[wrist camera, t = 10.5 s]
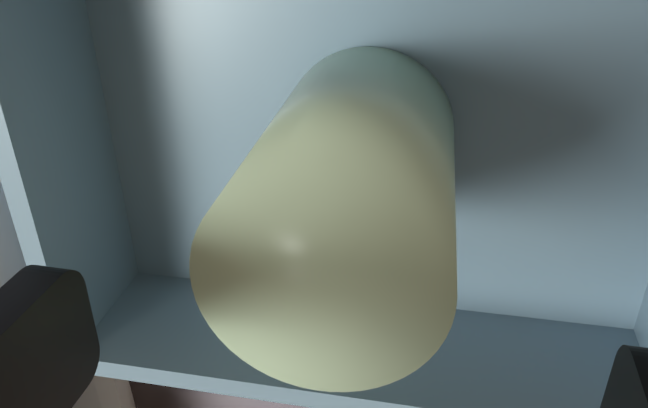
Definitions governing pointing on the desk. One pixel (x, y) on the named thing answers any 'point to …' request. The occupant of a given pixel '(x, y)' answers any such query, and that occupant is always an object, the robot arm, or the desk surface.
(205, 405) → the desk surface
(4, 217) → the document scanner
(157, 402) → the desk surface
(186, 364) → the bin
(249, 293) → the mint green capsule
